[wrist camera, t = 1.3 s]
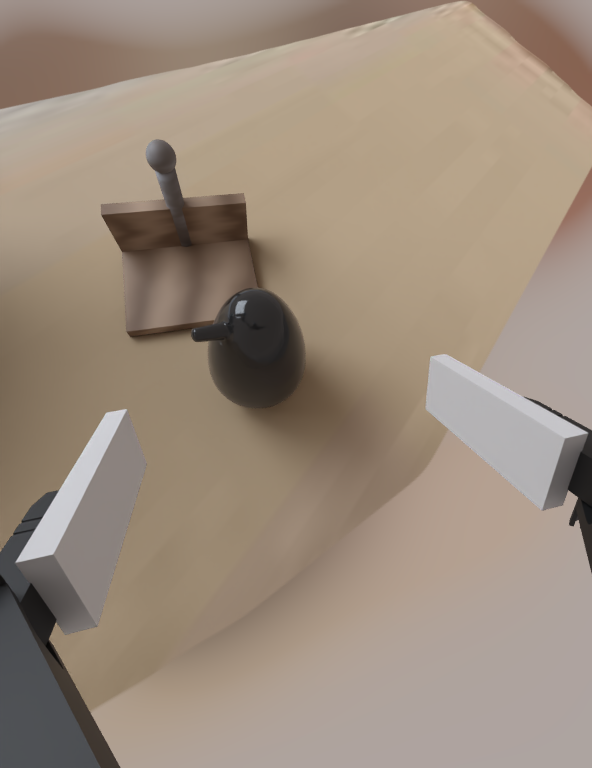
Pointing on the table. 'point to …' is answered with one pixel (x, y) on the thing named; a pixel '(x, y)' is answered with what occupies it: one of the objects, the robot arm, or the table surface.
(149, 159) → the stand
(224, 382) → the pump dispenser
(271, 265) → the table surface
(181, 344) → the table surface
